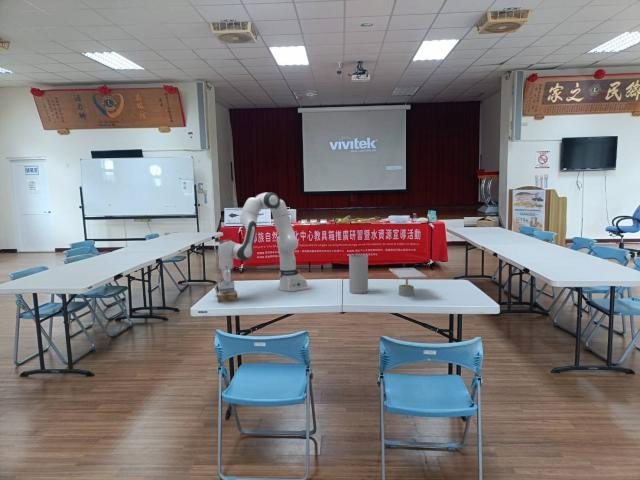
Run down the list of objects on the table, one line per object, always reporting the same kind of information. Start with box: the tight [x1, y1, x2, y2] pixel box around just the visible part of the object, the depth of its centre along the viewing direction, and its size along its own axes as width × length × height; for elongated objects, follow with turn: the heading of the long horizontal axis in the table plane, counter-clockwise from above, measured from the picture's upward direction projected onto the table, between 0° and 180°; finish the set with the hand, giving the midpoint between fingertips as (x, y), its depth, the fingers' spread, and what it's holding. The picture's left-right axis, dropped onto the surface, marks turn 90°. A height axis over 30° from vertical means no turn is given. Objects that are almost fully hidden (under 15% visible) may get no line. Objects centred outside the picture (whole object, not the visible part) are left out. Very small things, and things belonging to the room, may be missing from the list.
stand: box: [216, 289, 239, 303], centre depth 279 cm, size 12×8×5 cm, turn 107°
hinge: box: [214, 282, 220, 295], centre depth 294 cm, size 17×5×10 cm, turn 167°
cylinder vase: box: [348, 253, 369, 295], centre depth 293 cm, size 12×12×25 cm
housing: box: [218, 279, 236, 292], centre depth 278 cm, size 9×5×6 cm, turn 107°
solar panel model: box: [388, 267, 428, 298], centre depth 285 cm, size 28×17×15 cm, turn 5°
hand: (227, 286), depth 278 cm, fingers closed on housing, 5 cm apart
